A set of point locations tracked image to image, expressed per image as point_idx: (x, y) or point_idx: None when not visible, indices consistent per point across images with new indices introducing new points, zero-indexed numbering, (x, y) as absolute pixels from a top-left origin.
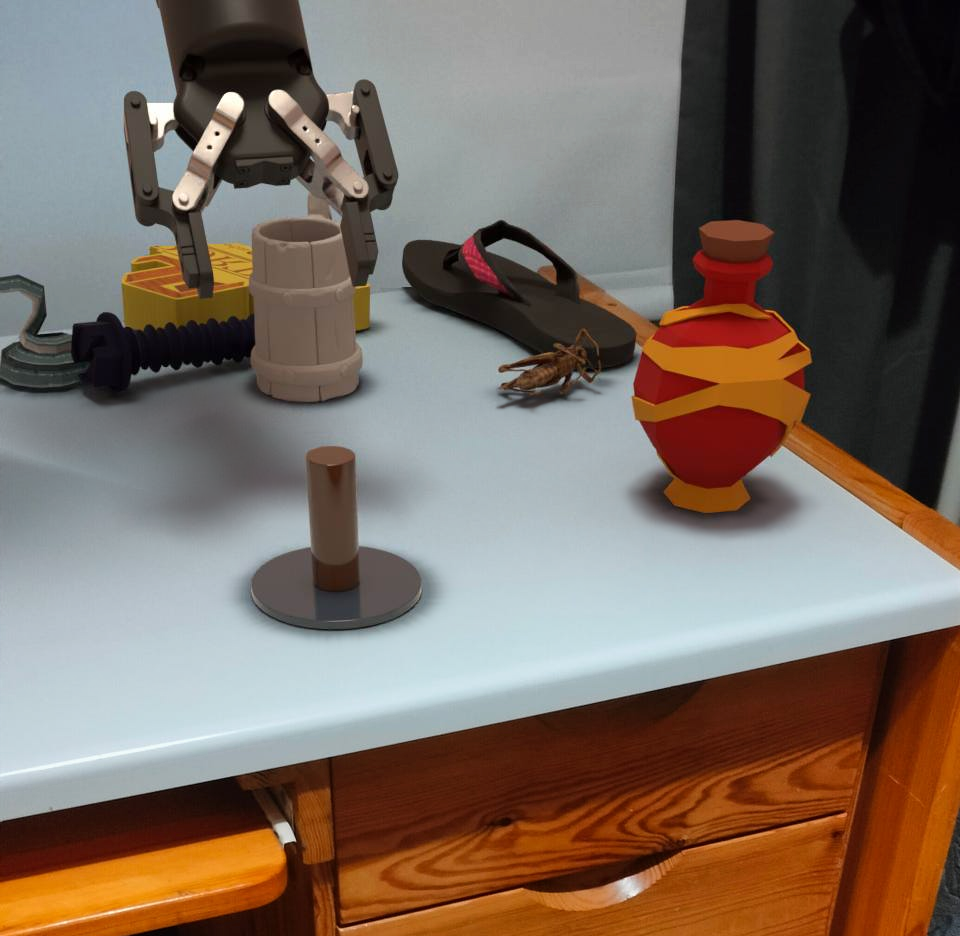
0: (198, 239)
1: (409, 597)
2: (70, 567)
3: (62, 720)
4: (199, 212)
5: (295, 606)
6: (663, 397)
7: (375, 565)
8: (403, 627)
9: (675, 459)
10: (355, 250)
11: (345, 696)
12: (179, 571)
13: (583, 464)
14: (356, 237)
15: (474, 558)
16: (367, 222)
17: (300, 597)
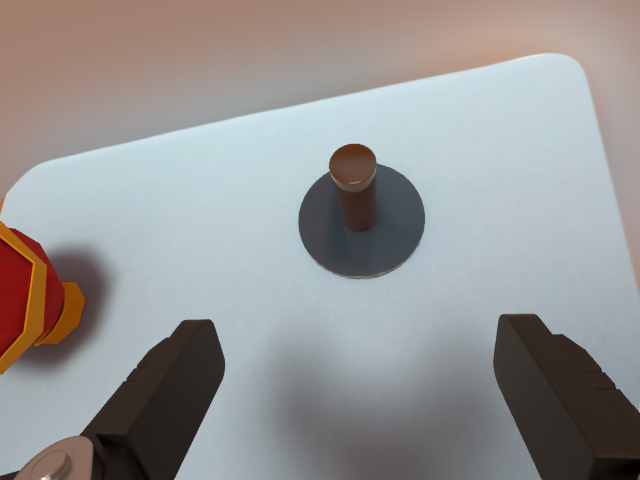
0: (569, 376)
1: (315, 185)
2: (587, 302)
3: (558, 89)
4: (601, 453)
5: (395, 185)
6: (20, 262)
7: (325, 234)
8: (327, 164)
9: (59, 279)
10: (193, 334)
11: (380, 97)
12: (481, 273)
13: (98, 403)
14: (171, 356)
15: (251, 248)
16: (117, 402)
17: (389, 197)
